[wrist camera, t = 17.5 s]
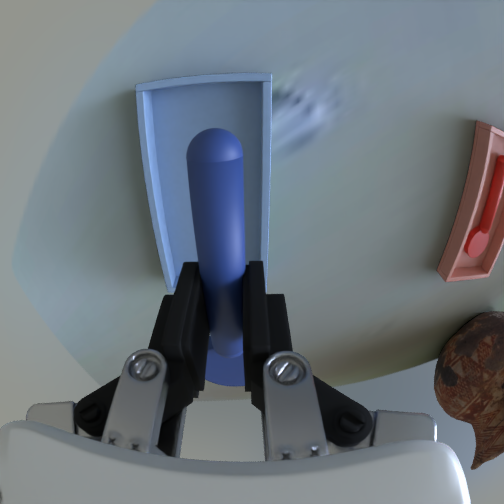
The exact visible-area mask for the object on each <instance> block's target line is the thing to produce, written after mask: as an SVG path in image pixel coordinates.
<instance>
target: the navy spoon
mask: <svg viewBox="0 0 504 504" xmlns="http://www.w3.org/2000/svg"><path fill="white" fill-rule="evenodd" d="M186 160H187V171H188V182H189V192H190V201H191V210H192V218H193V226H194V234H195V242H196V249H197V256H198V263H199V270H200V275H201V281H202V287H203V294H204V300H205V306H206V312H207V317H208V323H209V329H210V336H209V344H208V354H207V363H206V373H205V379H206V380H208V381H210V382H212V383H215V384H219V385H224V386H245V378H244V361H243V275H244V274H245V270H246V265H245V223H244V175H243V149H242V146H241V144H240V142H239V140H238V139H237V137H236V136H235V135H234V134H232V133H231V132H229V131H227V130H225V129H221V128H209V129H206V130H203V131H201V132H200V133H198V134H197V135H196V136H195V137H194V138H193V139H192V140H191V142H190V144H189V146H188V148H187V153H186Z"/></svg>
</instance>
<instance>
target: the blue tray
mask: <svg viewBox="0 0 504 504" xmlns="http://www.w3.org/2000/svg"><path fill="white" fill-rule="evenodd" d="M271 81H272V74H271V73H227V74H210V75H197V76H187V77H179V78H171V79H164V80H158V81H152V82H146V83H141V84H136V85H135V87H136V104H137V117H138V128H139V138H140V147H141V155H142V163H143V170H144V177H145V184H146V190H147V196H148V202H149V208H150V213H151V219H152V224H153V229H154V234H155V239H156V244H157V248H158V253H159V257H160V262H161V266H162V270H163V274H164V279H165V283H166V287H167V290H168V292H175V289H176V286H177V282H178V279H179V276H180V272H181V269H182V266H183V263H184V262H198V256H197V249H196V242H195V234H194V226H193V218H192V210H191V201H190V192H189V182H188V171H187V160H186V153H187V148H188V146H189V144H190V142H191V140H192V139H193V138H194V137H195V136H196V135H197V134H198V133H200V132H201V131H203V130H206V129H209V128H221V129H225V130H227V131H229V132H231V133H232V134H234V135H235V136H236V137H237V139H238V140H239V142H240V144H241V146H242V149H243V175H244V223H245V265H249V261H263V266H264V277H265V289H267V264H268V237H269V206H270V168H271V113H272V82H271Z"/></svg>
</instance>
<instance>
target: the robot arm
mask: <svg viewBox="0 0 504 504" xmlns="http://www.w3.org/2000/svg"><path fill="white" fill-rule="evenodd" d="M209 335H210V329H209V323H208V317H207V312H206V306H205V300H204V294H203V287H202V281H201V275H200V270H199V263H198V262H184V263H183V266H182V269H181V272H180V276H179V279H178V282H177V286H176V289H175V293H174V295H165V296H164V298H163V300H162V303H161V306H160V310H159V313H158V316H157V319H156V323H155V326H154V329H153V333H152V336H151V340H150V343H149V347H148V349H142V350H138V351H136V352H134V353H132V354H131V355H130V356H129V357H128V358H127V360H126V362H125V364H124V367H123V370H122V373H121V375H120V376H119V377H117V378H116V379H114V380H112V381H111V382H109V383H107V384H106V385H104V386H102V387H101V388H99V389H97V390H96V391H94V392H92V393H91V394H89V395H87V396H86V397H84V398H82V399H81V400H80V401H79V402H78V403H74V402H73V401H69V402H56V403H38V404H34V405H33V406H31V407H30V408H29V410H28V411H27V415H26V420H20V421H13V422H10V423H7V424H5V425H3V426H2V427H1V429H0V504H471V502H470V496H469V492H468V487H467V483H466V479H465V476H464V472H463V469H462V467H461V464H460V462H459V460H458V458H457V456H456V454H455V453H454V451H453V450H452V449H451V448H450V447H449V446H448V445H446V444H444V443H441V442H437V441H436V434H437V431H436V430H437V428H436V422H435V421H434V419H433V418H432V417H431V416H430V415H428V414H425V413H412V412H398V411H387V410H377V411H368V410H367V409H366V408H365V407H364V406H362V405H360V404H359V403H357V402H355V401H354V400H352V399H350V398H349V397H347V396H345V395H344V394H342V393H340V392H339V391H337V390H336V389H334V388H332V387H331V386H329V385H328V384H326V383H324V382H323V381H321V380H320V379H318V378H317V377H315V376H314V375H312V370H311V367H310V364H309V362H308V361H307V359H306V358H305V357H304V356H302V355H300V354H299V353H296V352H293V349H292V343H291V336H290V329H289V323H288V316H287V310H286V303H285V297H284V294H266V289H265V277H264V266H263V261H249V265H246V270H245V274H244V275H243V361H244V378H245V392H251V401H252V404H253V405H254V406H255V407H256V408H258V409H259V410H260V411H261V420H262V432H263V444H264V456H265V461H262V462H261V461H260V462H227V461H206V460H194V459H184V458H180V452H181V445H182V438H183V431H184V424H185V417H186V411H187V410H186V409H187V406H188V405H189V404H191V403H192V402H193V398H198V395H199V391H203V390H204V384H205V373H206V363H207V354H208V344H209Z"/></svg>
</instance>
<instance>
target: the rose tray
mask: <svg viewBox="0 0 504 504" xmlns="http://www.w3.org/2000/svg"><path fill="white" fill-rule="evenodd" d="M499 155H504V132H503V131H501V130H499V129H497V128H495V127H493V126H491V125H489V124H486V123H483V122H480V121H476V129H475V136H474V143H473V149H472V154H471V160H470V165H469V170H468V174H467V178H466V183H465V187H464V191H463V195H462V198H461V202H460V205H459V209H458V212H457V215H456V219H455V222H454V225H453V228H452V231H451V234H450V237H449V240H448V242H447V245H446V248H445V250H444V253H443V256H442V258H441V261H440V263H439V266H438V268H437V272H438V273H439V274H440V275H441V277H442V278H443V279H444V281H445V282H452V281H461V280H470V279H478V278H486V277H489V275H490V273H491V271H492V269H493V266H494V264H495V262H496V260H497V258H498V255H499V253H500V251H501V248H502V246H503V243H504V187H503V190H502V194H501V198H500V201H499V204H498V208H497V211H496V214H495V217H494V220H493V223H492V226H491V229H490V231H489V232H488V233H489V241H488V244H487V246H486V248H485V250H484V251H483V252H482V253H481V254H480V255H479V256H478V257H476V258H471V257H469V256H468V255H467V253H466V252H465V250H464V245H465V242H466V239H467V237H468V234H469V233H470V231H471V230H472V229H473V228H475V227H477V226H479V224H480V221H481V218H482V215H483V212H484V209H485V205H486V202H487V198H488V195H489V191H490V187H491V184H492V179H493V175H494V171H495V166H496V161H497V158H498V156H499Z"/></svg>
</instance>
